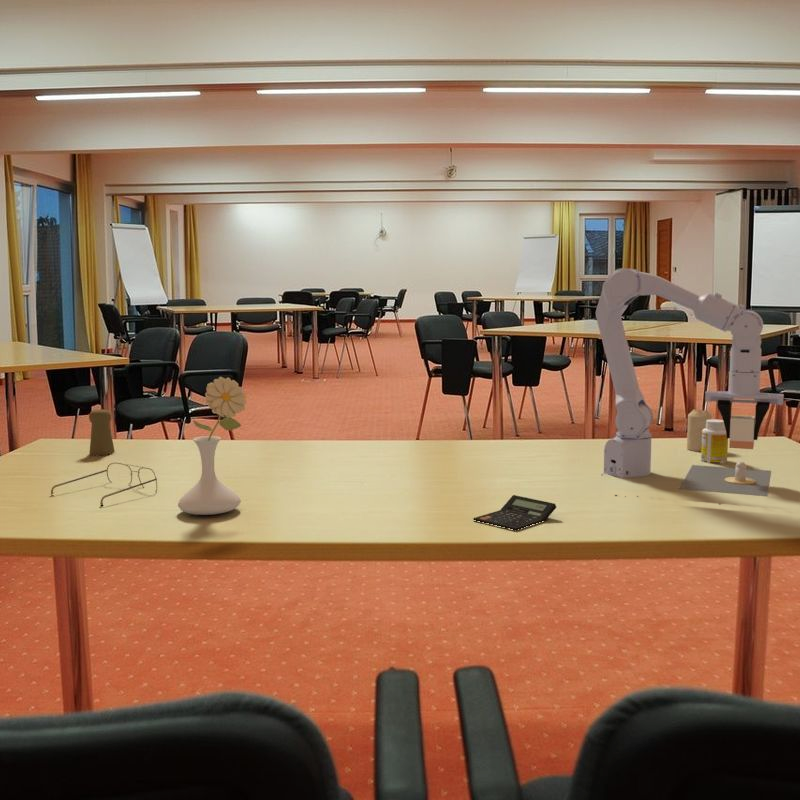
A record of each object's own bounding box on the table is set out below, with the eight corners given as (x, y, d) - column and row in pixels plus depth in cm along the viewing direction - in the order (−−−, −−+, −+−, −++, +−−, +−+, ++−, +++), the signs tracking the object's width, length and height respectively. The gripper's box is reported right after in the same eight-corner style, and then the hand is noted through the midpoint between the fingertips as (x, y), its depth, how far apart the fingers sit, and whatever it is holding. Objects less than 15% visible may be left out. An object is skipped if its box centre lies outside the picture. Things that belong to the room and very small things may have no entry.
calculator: (473, 522, 154) (473, 506, 154) (514, 510, 162) (514, 494, 162) (515, 533, 147) (515, 516, 147) (556, 519, 155) (556, 503, 155)
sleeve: (752, 449, 174) (754, 419, 173) (729, 447, 175) (730, 418, 175) (753, 445, 178) (755, 416, 177) (730, 444, 179) (732, 415, 179)
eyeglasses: (162, 493, 179) (161, 469, 178) (101, 508, 167) (99, 483, 166) (112, 483, 188) (111, 460, 187) (50, 497, 176) (49, 473, 175)
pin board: (767, 501, 165) (768, 475, 165) (678, 493, 172) (679, 468, 171) (770, 475, 187) (771, 452, 186) (692, 469, 194) (693, 447, 193)
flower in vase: (179, 522, 155) (173, 382, 151) (177, 506, 166) (171, 375, 162) (253, 516, 158) (249, 379, 155) (246, 501, 169) (242, 372, 166)
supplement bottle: (731, 465, 197) (733, 420, 196) (718, 469, 194) (720, 423, 192) (709, 461, 202) (711, 417, 200) (695, 465, 198) (697, 420, 197)
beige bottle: (712, 448, 217) (714, 408, 215) (707, 452, 212) (708, 411, 211) (689, 446, 220) (691, 407, 218) (684, 450, 215) (685, 410, 214)
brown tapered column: (89, 452, 220) (87, 408, 219) (115, 450, 222) (112, 407, 221) (88, 456, 215) (86, 412, 213) (114, 454, 217) (112, 410, 215)
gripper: (784, 370, 175) (781, 437, 177) (708, 368, 181) (706, 432, 183) (784, 374, 169) (781, 443, 171) (705, 371, 175) (702, 438, 177)
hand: (742, 438), depth 176 cm, fingers closed on sleeve, 4 cm apart
